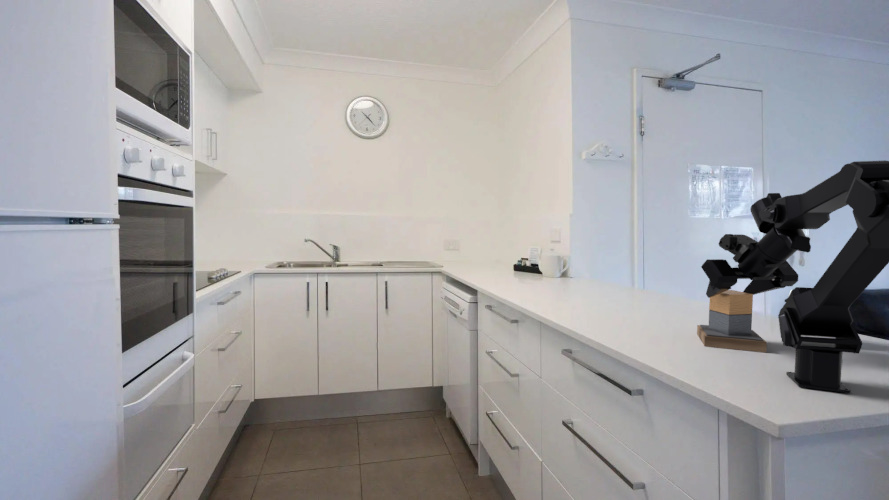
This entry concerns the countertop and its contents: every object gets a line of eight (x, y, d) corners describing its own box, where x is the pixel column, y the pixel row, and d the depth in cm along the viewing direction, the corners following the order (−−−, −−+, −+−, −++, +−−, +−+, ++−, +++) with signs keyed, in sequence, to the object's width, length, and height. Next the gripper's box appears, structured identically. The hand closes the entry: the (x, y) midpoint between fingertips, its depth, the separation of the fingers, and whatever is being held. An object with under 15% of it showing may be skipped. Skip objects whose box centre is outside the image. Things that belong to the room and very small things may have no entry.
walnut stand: (766, 352, 85) (766, 340, 85) (704, 346, 90) (705, 334, 90) (752, 339, 95) (752, 328, 95) (697, 334, 100) (697, 323, 100)
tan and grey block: (751, 334, 90) (753, 294, 89) (728, 335, 89) (729, 294, 89) (730, 328, 96) (731, 290, 95) (708, 329, 95) (710, 290, 94)
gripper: (788, 221, 88) (742, 267, 100) (709, 221, 86) (672, 268, 97) (824, 261, 81) (770, 305, 93) (739, 262, 79) (695, 307, 90)
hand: (725, 295), depth 93 cm, fingers open, 9 cm apart
